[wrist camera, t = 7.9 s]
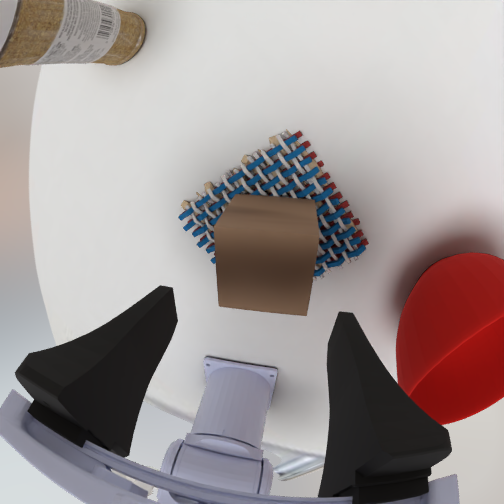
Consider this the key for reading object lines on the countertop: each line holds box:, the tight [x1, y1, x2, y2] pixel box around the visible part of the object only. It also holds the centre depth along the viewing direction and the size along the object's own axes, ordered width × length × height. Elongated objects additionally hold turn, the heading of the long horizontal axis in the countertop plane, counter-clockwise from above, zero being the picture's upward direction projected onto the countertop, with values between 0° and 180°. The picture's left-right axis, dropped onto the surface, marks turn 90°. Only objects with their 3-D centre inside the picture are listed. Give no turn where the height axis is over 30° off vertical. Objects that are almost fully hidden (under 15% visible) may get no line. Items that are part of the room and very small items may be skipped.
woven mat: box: [178, 129, 369, 280], centre depth 19 cm, size 10×11×2 cm
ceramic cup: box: [396, 252, 504, 425], centre depth 16 cm, size 13×17×10 cm
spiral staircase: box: [112, 462, 154, 496], centre depth 76 cm, size 18×18×25 cm
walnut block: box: [214, 194, 320, 316], centre depth 16 cm, size 5×5×5 cm
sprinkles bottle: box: [0, 0, 145, 68], centre depth 8 cm, size 5×5×13 cm
